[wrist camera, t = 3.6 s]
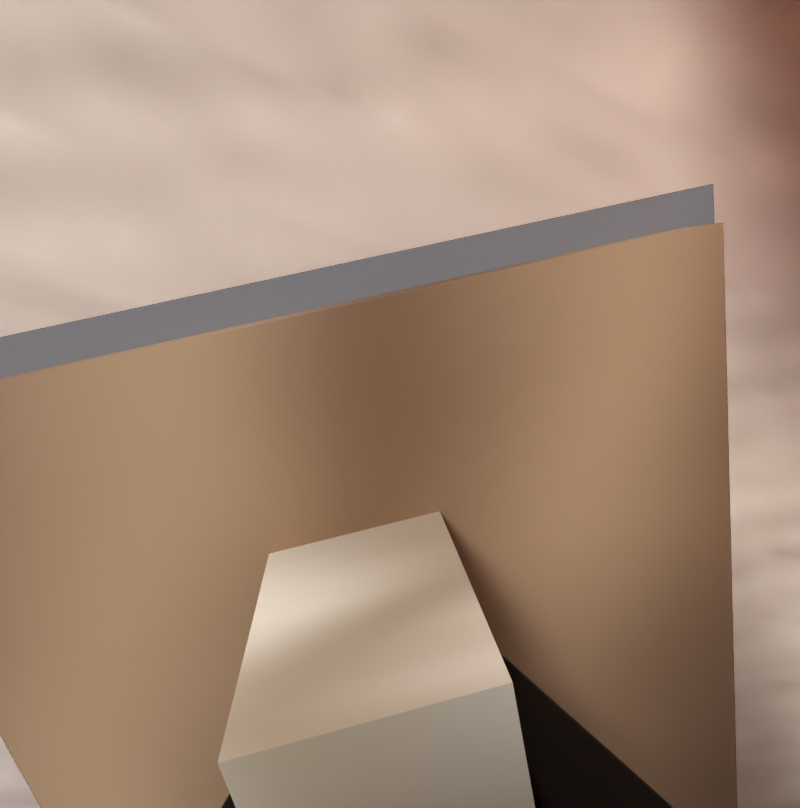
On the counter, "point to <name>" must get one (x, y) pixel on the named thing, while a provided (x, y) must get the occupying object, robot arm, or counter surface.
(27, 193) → the counter surface
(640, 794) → the robot arm
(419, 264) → the mat
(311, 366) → the lid
